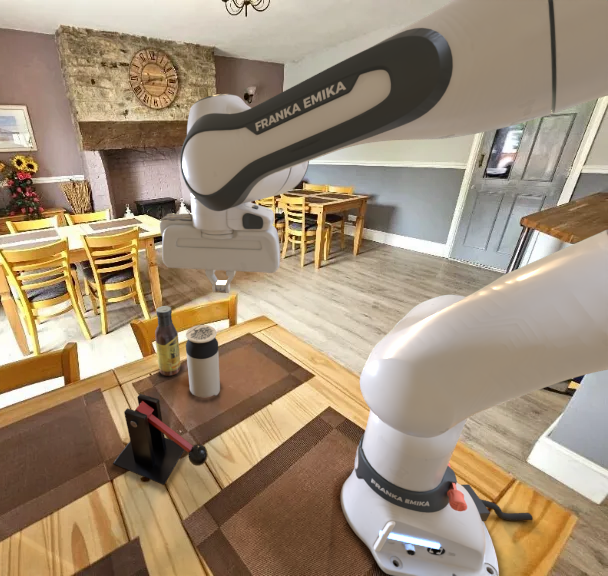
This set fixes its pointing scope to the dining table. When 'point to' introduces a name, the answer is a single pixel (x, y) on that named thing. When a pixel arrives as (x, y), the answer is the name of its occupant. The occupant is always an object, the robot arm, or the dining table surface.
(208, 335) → the travel mug
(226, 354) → the dining table surface
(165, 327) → the sauce bottle
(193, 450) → the lever
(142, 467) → the bracket
